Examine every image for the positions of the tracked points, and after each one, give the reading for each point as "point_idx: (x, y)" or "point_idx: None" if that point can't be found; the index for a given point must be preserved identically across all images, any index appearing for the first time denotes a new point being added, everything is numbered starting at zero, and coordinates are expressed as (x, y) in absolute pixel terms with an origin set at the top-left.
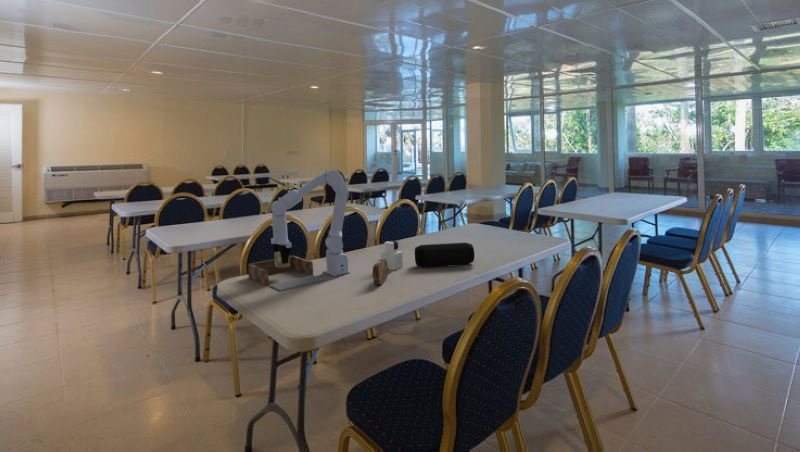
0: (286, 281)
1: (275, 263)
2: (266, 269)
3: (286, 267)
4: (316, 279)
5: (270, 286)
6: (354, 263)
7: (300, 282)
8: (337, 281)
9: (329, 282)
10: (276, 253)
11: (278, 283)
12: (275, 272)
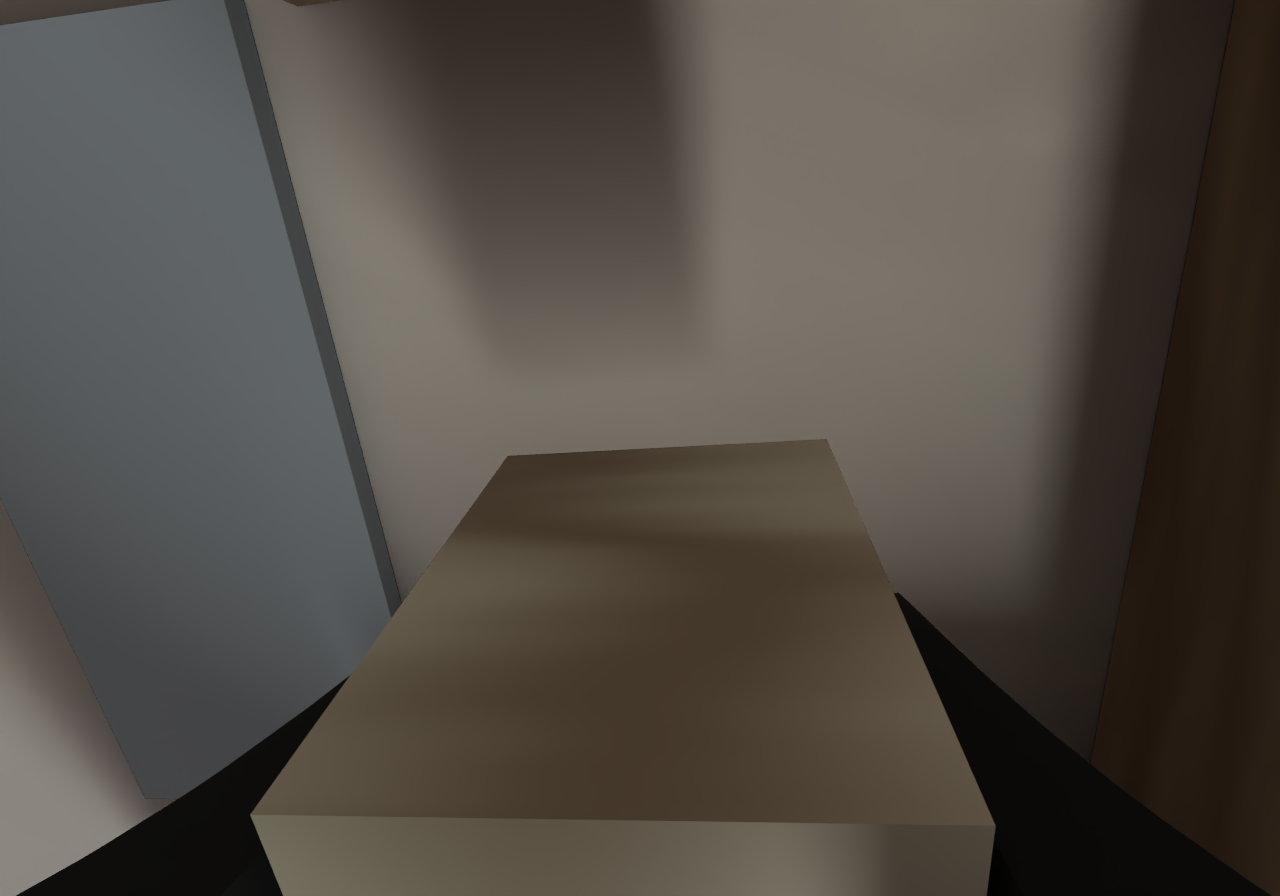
0: (300, 376)
1: (804, 482)
2: (1276, 308)
3: (1139, 730)
4: (187, 742)
5: (211, 4)
6: None
7: (131, 526)
8: (70, 860)
9: (65, 791)
10: (606, 802)
11: (237, 199)
12: (1151, 484)
